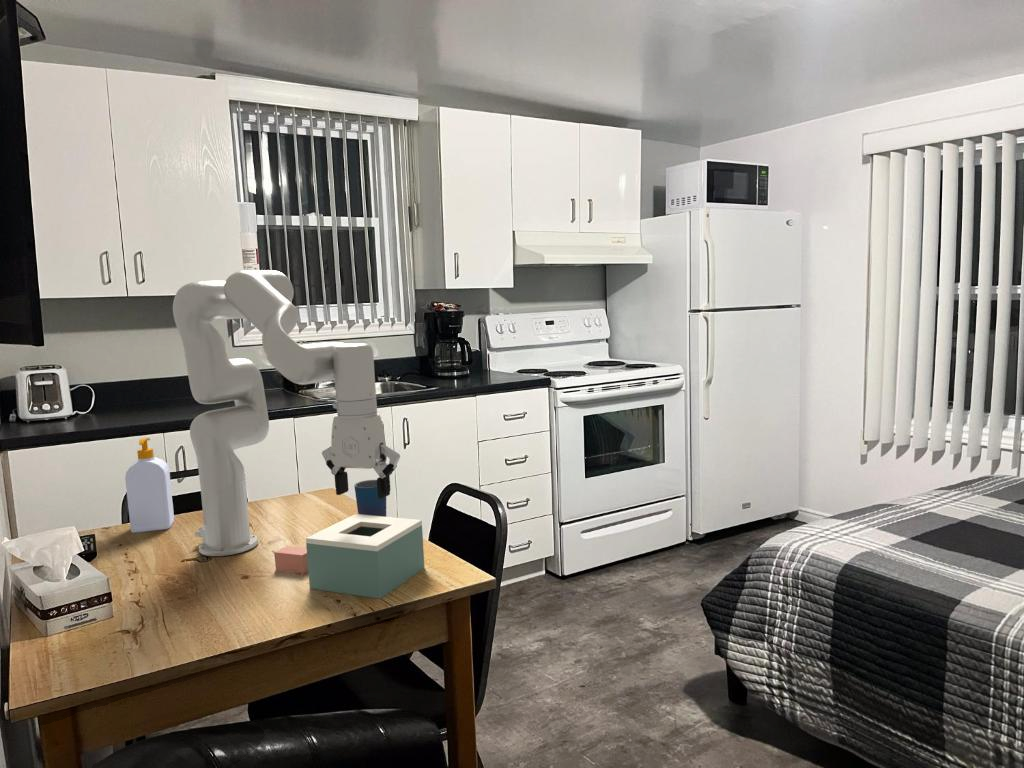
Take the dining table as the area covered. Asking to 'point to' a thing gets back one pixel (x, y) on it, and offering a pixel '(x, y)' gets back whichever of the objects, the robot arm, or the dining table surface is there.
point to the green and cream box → (365, 555)
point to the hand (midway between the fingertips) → (363, 494)
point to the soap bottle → (149, 492)
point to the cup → (369, 499)
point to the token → (291, 559)
